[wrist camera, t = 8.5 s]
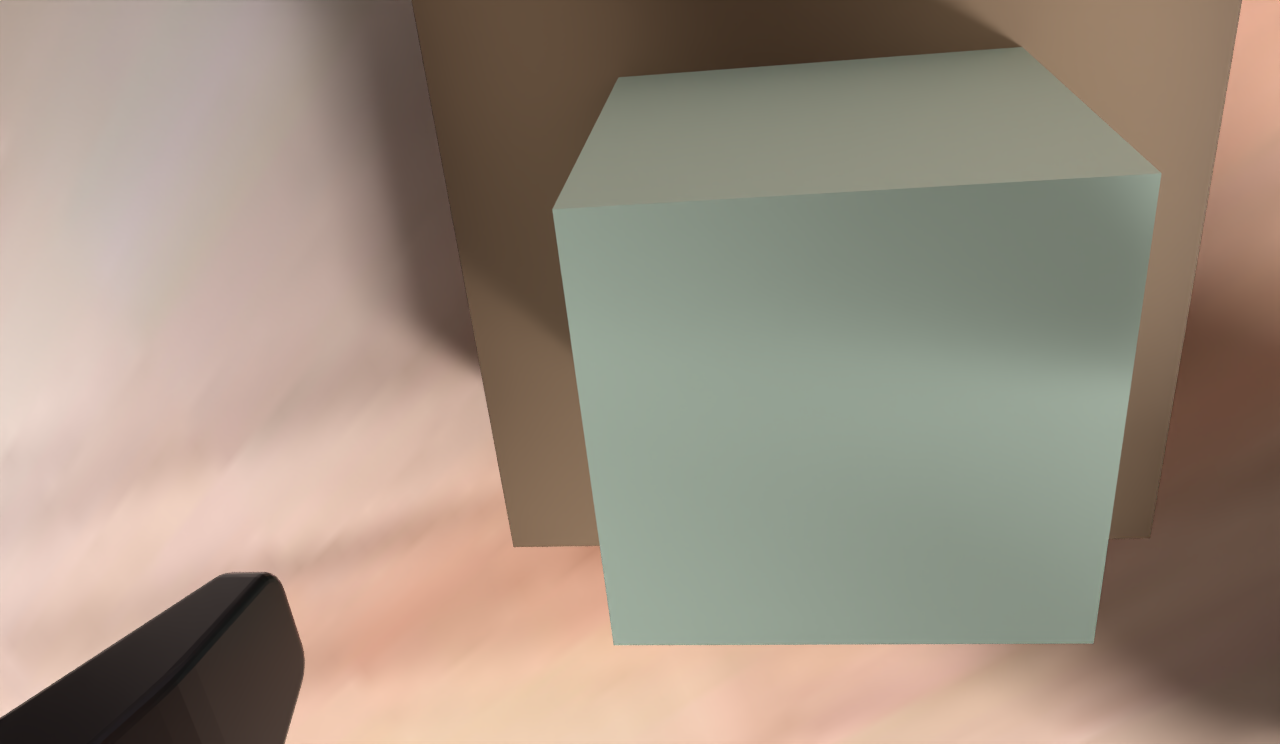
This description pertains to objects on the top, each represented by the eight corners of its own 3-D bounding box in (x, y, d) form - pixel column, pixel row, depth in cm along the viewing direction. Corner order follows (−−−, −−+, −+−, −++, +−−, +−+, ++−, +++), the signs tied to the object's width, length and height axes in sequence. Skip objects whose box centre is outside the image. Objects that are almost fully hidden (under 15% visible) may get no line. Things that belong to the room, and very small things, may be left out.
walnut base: (1153, -203, 15) (1277, -206, 11) (1078, 406, 19) (1150, 538, 16) (469, -134, 16) (390, -116, 13) (554, 421, 21) (513, 547, 17)
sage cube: (1021, 47, 13) (1160, 173, 8) (995, 400, 15) (1093, 643, 11) (618, 77, 13) (552, 209, 9) (653, 412, 16) (614, 645, 11)
